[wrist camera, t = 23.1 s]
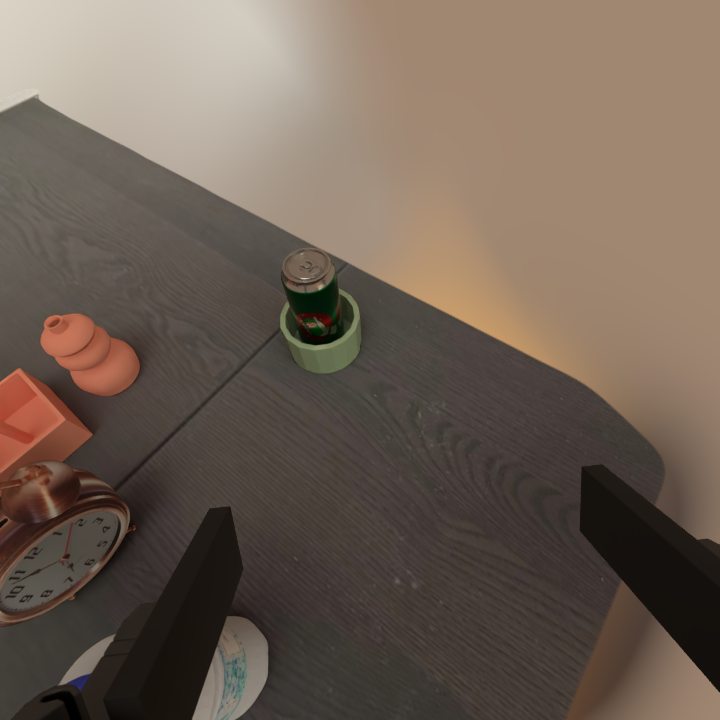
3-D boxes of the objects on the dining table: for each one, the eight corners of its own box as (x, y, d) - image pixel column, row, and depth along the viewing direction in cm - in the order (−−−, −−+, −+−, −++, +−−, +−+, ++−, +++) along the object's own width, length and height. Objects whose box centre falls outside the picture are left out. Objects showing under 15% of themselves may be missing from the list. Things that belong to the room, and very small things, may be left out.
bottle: (290, 627, 32) (184, 658, 15) (256, 734, 29) (75, 925, 12) (215, 600, 34) (41, 601, 16) (175, 699, 30) (-94, 829, 13)
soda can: (321, 314, 48) (304, 236, 38) (354, 335, 46) (346, 259, 36) (292, 343, 46) (266, 269, 36) (325, 366, 44) (308, 295, 34)
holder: (339, 303, 49) (335, 275, 45) (375, 352, 45) (374, 326, 41) (278, 332, 47) (267, 306, 43) (309, 386, 44) (300, 363, 39)
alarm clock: (61, 627, 33) (-142, 645, 20) (28, 590, 35) (-180, 585, 22) (161, 511, 38) (45, 466, 25) (128, 483, 39) (2, 426, 26)
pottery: (11, 506, 38) (-94, 479, 30) (-32, 447, 42) (-136, 409, 33) (162, 375, 45) (111, 324, 37) (115, 334, 49) (59, 278, 40)
